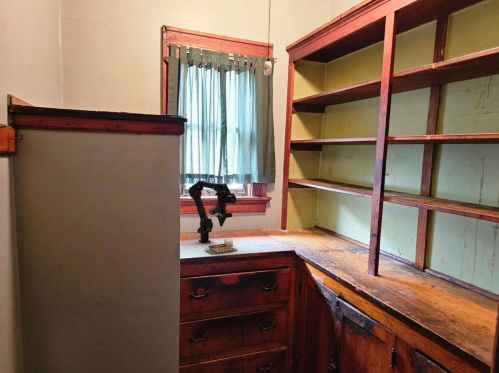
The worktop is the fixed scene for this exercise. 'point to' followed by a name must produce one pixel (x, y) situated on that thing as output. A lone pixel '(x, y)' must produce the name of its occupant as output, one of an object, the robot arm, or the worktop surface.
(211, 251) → the mat
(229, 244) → the white small block
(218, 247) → the ammunition clip
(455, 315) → the worktop surface
